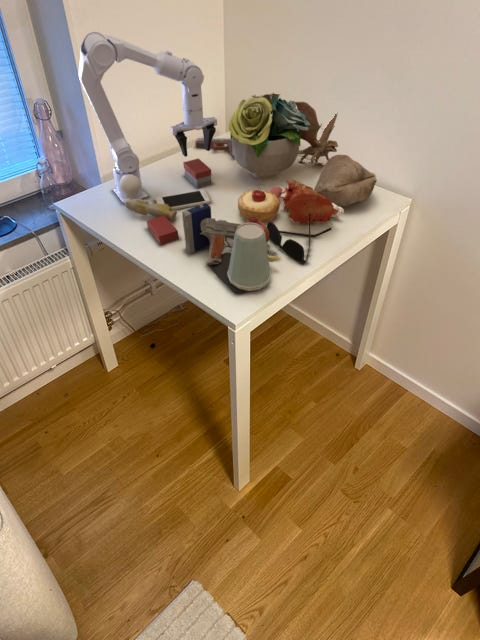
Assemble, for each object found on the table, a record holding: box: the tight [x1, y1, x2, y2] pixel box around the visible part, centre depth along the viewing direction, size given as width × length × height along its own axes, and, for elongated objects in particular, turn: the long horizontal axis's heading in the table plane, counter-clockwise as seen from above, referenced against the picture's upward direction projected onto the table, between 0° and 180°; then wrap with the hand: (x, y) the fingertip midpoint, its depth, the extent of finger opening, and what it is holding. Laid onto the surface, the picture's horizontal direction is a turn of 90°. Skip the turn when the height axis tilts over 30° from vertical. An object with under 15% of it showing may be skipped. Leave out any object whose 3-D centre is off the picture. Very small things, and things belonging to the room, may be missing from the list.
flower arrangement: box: [228, 91, 310, 180], centre depth 151 cm, size 25×25×24 cm
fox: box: [268, 254, 282, 263], centre depth 121 cm, size 12×9×2 cm
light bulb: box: [120, 174, 140, 199], centre depth 142 cm, size 6×6×10 cm
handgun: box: [194, 137, 235, 159], centre depth 171 cm, size 3×19×12 cm
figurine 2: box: [267, 186, 289, 213], centre depth 145 cm, size 12×3×7 cm
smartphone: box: [155, 189, 211, 211], centre depth 147 cm, size 7×15×1 cm, turn 109°
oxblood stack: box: [146, 215, 180, 246], centre depth 134 cm, size 9×6×3 cm, turn 30°
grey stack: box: [184, 169, 213, 189], centre depth 157 cm, size 9×5×3 cm, turn 30°
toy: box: [267, 244, 279, 257], centre depth 129 cm, size 1×8×2 cm
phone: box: [207, 251, 247, 295], centre depth 122 cm, size 7×1×15 cm
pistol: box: [200, 217, 242, 266], centre depth 128 cm, size 19×2×12 cm
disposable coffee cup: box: [227, 221, 272, 292], centre depth 114 cm, size 11×11×15 cm
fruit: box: [245, 217, 270, 245], centre depth 126 cm, size 8×8×10 cm
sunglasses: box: [266, 214, 332, 265], centre depth 130 cm, size 17×14×5 cm
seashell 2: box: [313, 154, 378, 207], centre depth 144 cm, size 16×17×15 cm
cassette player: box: [181, 203, 212, 255], centre depth 126 cm, size 7×2×12 cm, turn 125°
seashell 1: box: [282, 177, 338, 225], centre depth 133 cm, size 17×11×15 cm
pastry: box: [237, 183, 281, 224], centre depth 139 cm, size 12×12×9 cm
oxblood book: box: [182, 157, 212, 179], centre depth 155 cm, size 9×6×2 cm, turn 30°
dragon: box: [294, 101, 339, 166], centre depth 160 cm, size 17×25×19 cm
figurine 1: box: [124, 198, 178, 222], centre depth 140 cm, size 5×5×15 cm
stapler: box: [331, 203, 345, 219], centre depth 140 cm, size 13×5×2 cm
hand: (196, 152), depth 151 cm, fingers open, 7 cm apart
